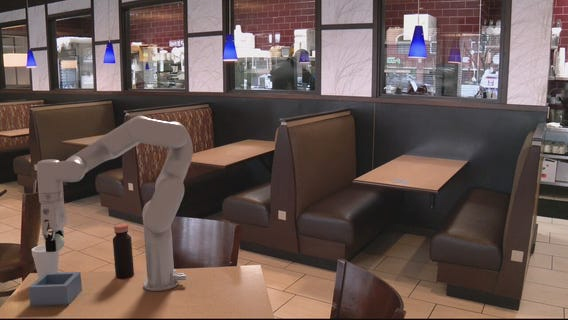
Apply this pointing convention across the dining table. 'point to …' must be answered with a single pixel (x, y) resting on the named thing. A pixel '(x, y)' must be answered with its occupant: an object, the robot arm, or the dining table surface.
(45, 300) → the blue-grey open box
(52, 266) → the foam cup
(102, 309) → the dining table surface
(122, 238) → the bottle
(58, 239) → the ball
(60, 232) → the robot arm
